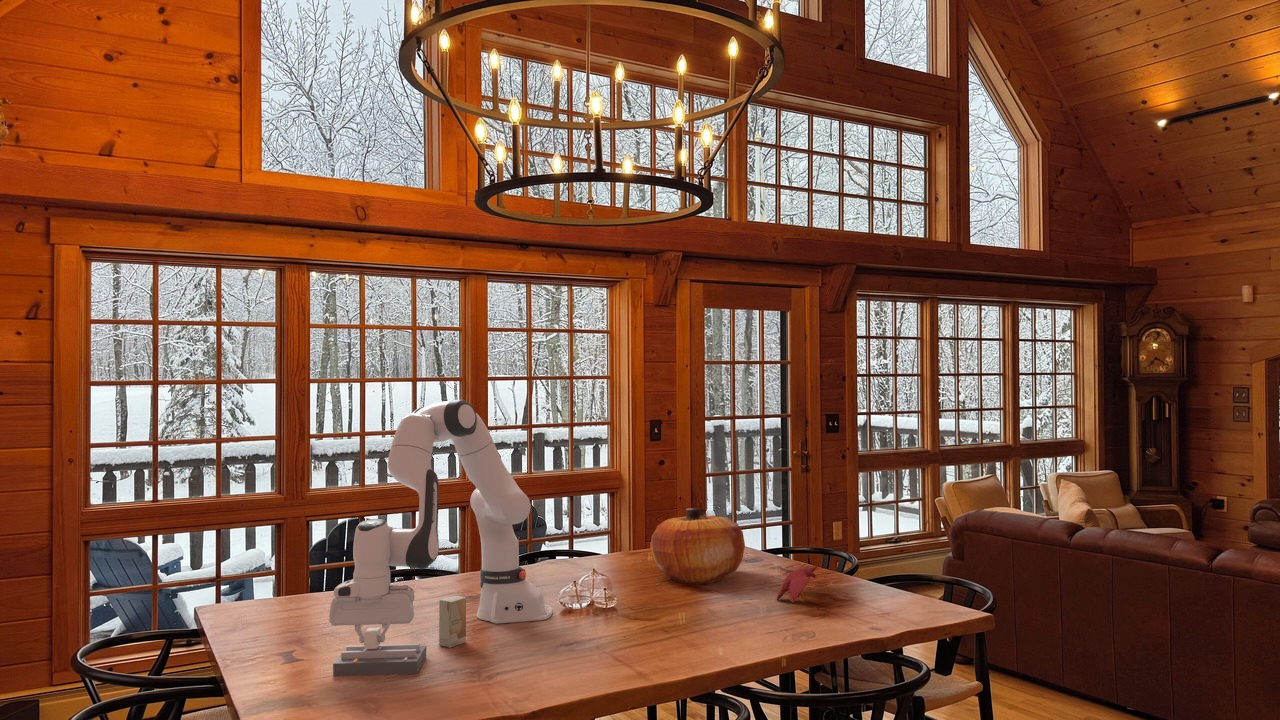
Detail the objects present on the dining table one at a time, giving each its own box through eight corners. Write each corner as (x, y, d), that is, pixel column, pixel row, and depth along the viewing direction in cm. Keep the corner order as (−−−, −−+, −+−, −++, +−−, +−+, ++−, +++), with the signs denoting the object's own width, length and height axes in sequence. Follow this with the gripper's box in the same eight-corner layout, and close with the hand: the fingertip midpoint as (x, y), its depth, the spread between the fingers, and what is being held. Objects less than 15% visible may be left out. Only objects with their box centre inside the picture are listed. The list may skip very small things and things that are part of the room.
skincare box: (450, 648, 229) (449, 602, 229) (438, 645, 231) (438, 600, 232) (467, 642, 235) (466, 596, 235) (455, 639, 237) (455, 594, 237)
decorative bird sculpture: (784, 627, 260) (818, 593, 257) (761, 604, 262) (795, 570, 259) (798, 603, 287) (829, 572, 283) (777, 583, 289) (807, 551, 286)
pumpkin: (658, 567, 324) (654, 501, 324) (747, 565, 320) (743, 498, 319) (647, 593, 292) (642, 520, 291) (746, 591, 287) (741, 517, 287)
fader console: (426, 657, 222) (426, 639, 222) (417, 673, 210) (416, 654, 210) (347, 659, 221) (347, 641, 221) (333, 676, 209) (333, 657, 209)
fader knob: (382, 650, 217) (382, 627, 217) (378, 655, 213) (378, 632, 213) (366, 651, 217) (366, 628, 217) (362, 656, 213) (362, 632, 213)
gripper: (416, 582, 219) (417, 636, 219) (334, 584, 218) (334, 639, 218) (411, 588, 213) (412, 644, 213) (327, 590, 212) (327, 646, 211)
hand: (372, 641), depth 215 cm, fingers closed on fader knob, 3 cm apart
